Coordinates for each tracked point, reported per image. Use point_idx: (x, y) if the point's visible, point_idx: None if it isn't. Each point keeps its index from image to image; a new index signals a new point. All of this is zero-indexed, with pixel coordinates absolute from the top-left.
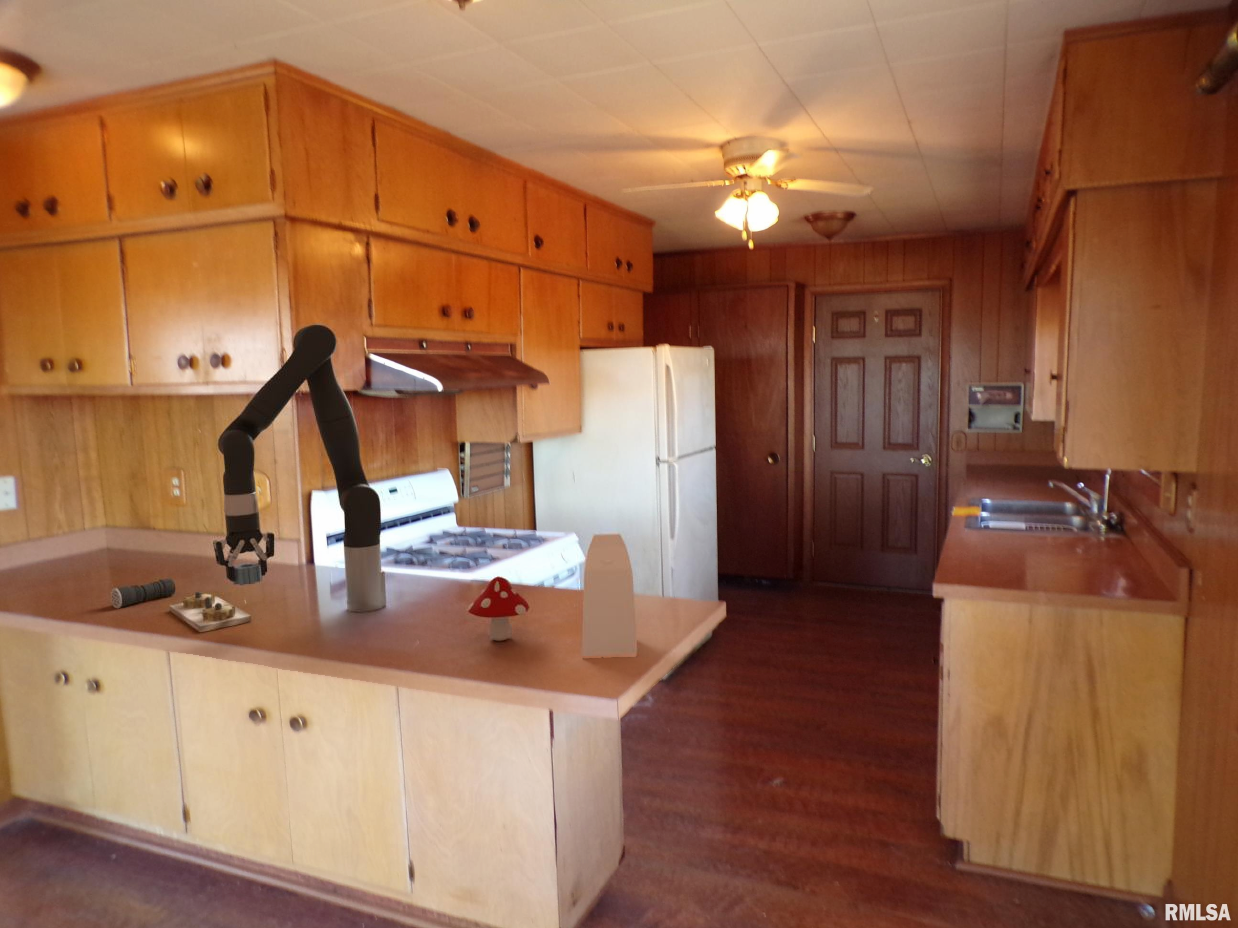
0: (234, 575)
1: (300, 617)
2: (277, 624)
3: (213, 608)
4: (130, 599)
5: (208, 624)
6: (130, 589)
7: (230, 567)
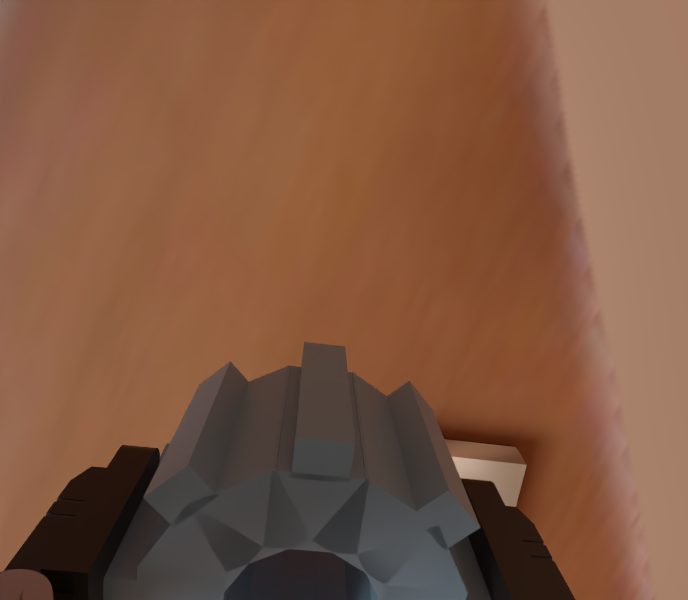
0: (483, 512)
1: (40, 269)
2: (195, 252)
3: None
4: None
5: (483, 463)
6: None
7: None
